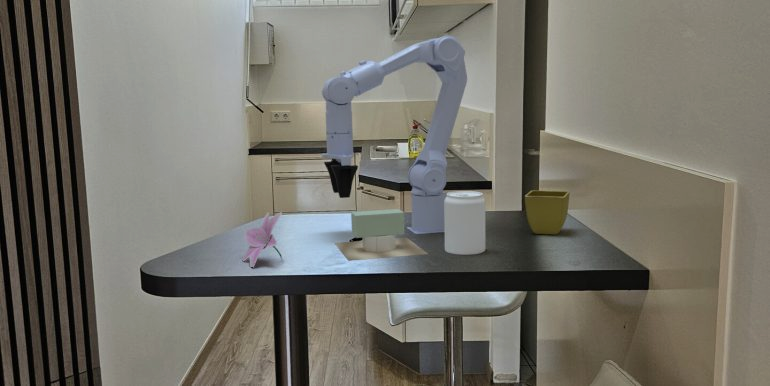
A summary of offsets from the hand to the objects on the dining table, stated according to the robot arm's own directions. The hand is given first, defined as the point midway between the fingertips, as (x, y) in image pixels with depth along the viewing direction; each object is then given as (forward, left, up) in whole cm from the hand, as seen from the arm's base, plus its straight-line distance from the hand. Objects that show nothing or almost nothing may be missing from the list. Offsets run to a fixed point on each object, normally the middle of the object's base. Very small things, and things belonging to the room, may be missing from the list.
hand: (341, 194), depth 155 cm
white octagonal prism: (-5, +14, -9) cm, 18 cm away
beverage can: (-21, +21, -10) cm, 31 cm away
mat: (-5, +14, -10) cm, 18 cm away
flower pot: (-45, +9, -10) cm, 47 cm away
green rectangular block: (-5, +14, -6) cm, 16 cm away
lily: (+19, +15, -10) cm, 26 cm away
